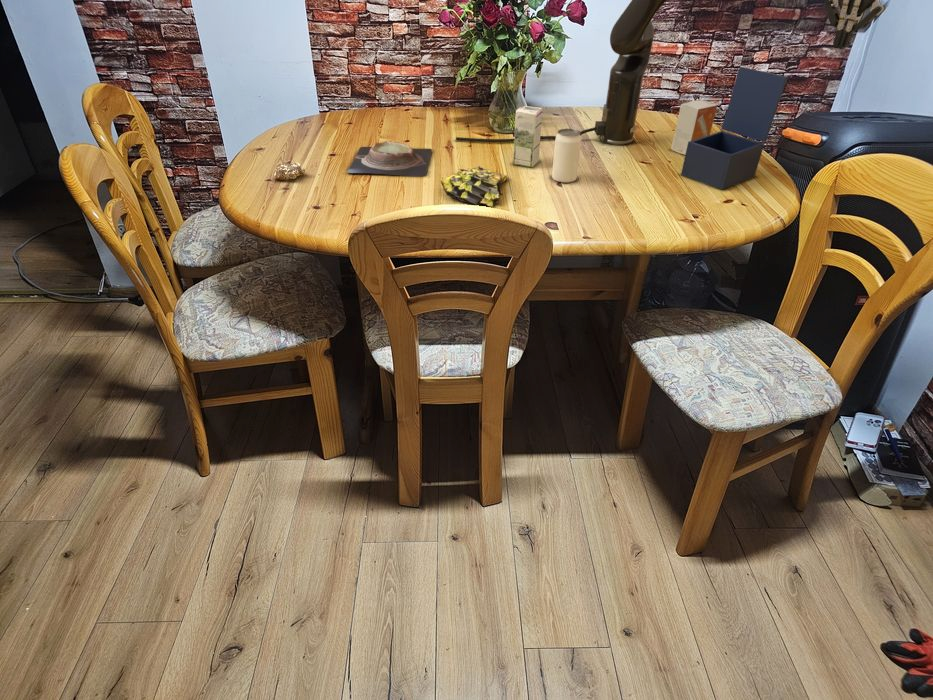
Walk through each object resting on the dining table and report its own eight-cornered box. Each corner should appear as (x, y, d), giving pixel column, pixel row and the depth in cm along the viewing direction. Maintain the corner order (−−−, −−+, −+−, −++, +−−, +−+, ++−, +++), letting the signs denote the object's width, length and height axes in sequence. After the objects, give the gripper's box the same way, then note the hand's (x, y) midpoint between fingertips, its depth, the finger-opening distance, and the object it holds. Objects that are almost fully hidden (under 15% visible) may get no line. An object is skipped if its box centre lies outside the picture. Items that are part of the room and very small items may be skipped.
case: (722, 190, 156) (731, 155, 151) (680, 174, 164) (688, 141, 159) (754, 176, 164) (764, 143, 158) (713, 162, 171) (721, 130, 166)
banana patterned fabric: (468, 173, 166) (476, 150, 163) (519, 200, 163) (529, 178, 159) (430, 187, 151) (437, 162, 147) (486, 218, 147) (495, 193, 143)
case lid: (786, 77, 149) (788, 76, 150) (739, 66, 157) (741, 66, 157) (764, 141, 158) (765, 141, 158) (721, 129, 166) (722, 128, 166)
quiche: (346, 174, 163) (344, 159, 160) (360, 148, 179) (359, 134, 176) (425, 176, 162) (425, 161, 160) (432, 149, 178) (432, 135, 176)
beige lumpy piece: (280, 185, 156) (277, 171, 154) (271, 177, 161) (268, 163, 159) (310, 179, 160) (308, 165, 158) (300, 171, 164) (298, 157, 162)
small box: (687, 156, 175) (698, 109, 167) (670, 150, 179) (680, 103, 171) (706, 151, 179) (718, 104, 171) (689, 145, 183) (699, 99, 175)
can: (560, 185, 158) (565, 137, 151) (546, 176, 163) (551, 130, 155) (581, 180, 161) (587, 134, 153) (567, 172, 165) (572, 126, 158)
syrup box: (539, 161, 171) (543, 107, 163) (531, 168, 167) (535, 113, 158) (519, 158, 173) (523, 104, 164) (512, 165, 169) (515, 110, 160)
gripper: (830, -40, 137) (804, 45, 148) (893, -35, 129) (860, 55, 139) (846, -42, 141) (820, 41, 152) (909, -37, 133) (876, 51, 143)
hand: (839, 48), depth 145 cm, fingers closed
